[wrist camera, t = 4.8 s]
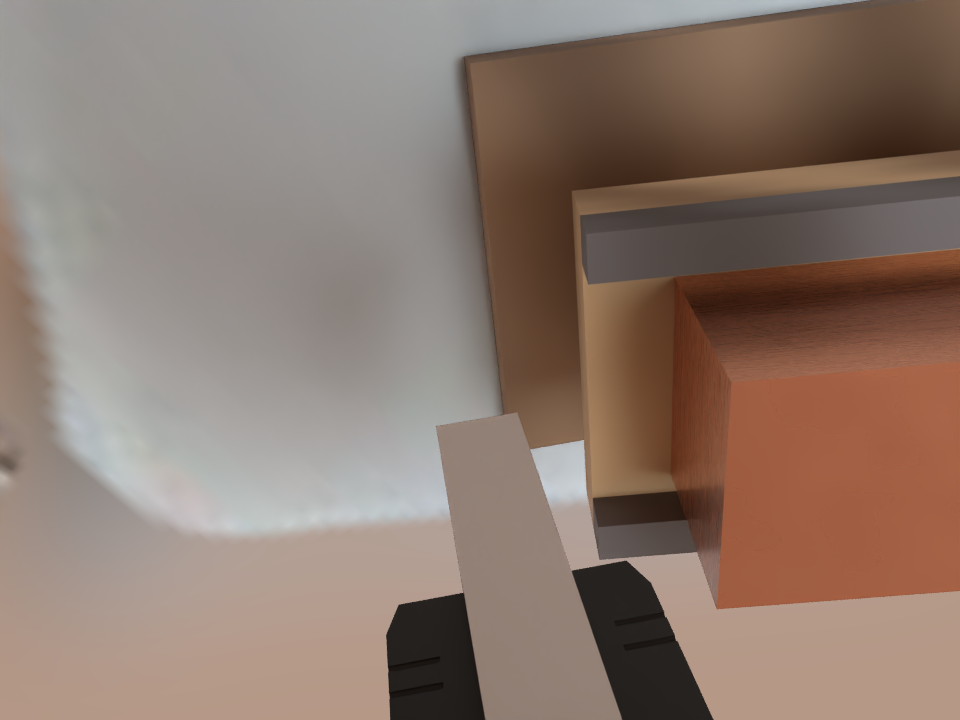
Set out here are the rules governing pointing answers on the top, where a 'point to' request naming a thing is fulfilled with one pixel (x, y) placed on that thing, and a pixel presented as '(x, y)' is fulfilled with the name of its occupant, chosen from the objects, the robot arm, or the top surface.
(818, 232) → the beam
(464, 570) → the robot arm
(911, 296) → the terracotta wooden block
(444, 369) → the top surface
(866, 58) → the stand
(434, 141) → the top surface
